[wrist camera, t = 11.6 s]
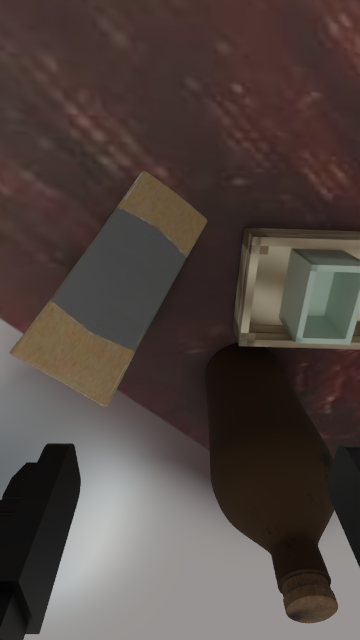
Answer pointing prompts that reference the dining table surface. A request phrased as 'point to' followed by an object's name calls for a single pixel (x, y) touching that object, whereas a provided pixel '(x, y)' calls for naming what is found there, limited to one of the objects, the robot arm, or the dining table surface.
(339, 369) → the dining table surface
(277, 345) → the big crate
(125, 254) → the sandwich container
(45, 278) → the dining table surface
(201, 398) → the dining table surface
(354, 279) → the box
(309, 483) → the olive oil
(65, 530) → the robot arm
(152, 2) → the dining table surface
